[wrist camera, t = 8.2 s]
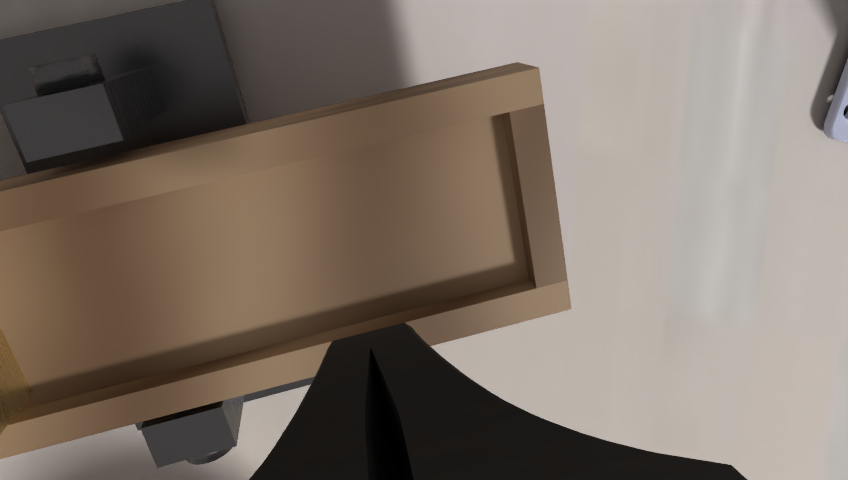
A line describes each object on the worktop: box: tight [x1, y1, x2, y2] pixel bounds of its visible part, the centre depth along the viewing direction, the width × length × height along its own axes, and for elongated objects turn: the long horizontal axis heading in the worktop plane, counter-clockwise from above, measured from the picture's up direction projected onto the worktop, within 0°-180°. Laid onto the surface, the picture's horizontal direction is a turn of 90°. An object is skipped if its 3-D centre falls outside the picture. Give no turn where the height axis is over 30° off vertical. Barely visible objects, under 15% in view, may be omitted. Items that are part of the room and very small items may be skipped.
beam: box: [0, 62, 571, 459], centre depth 16 cm, size 20×6×5 cm, turn 102°
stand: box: [0, 0, 315, 468], centre depth 17 cm, size 6×12×5 cm, turn 12°
